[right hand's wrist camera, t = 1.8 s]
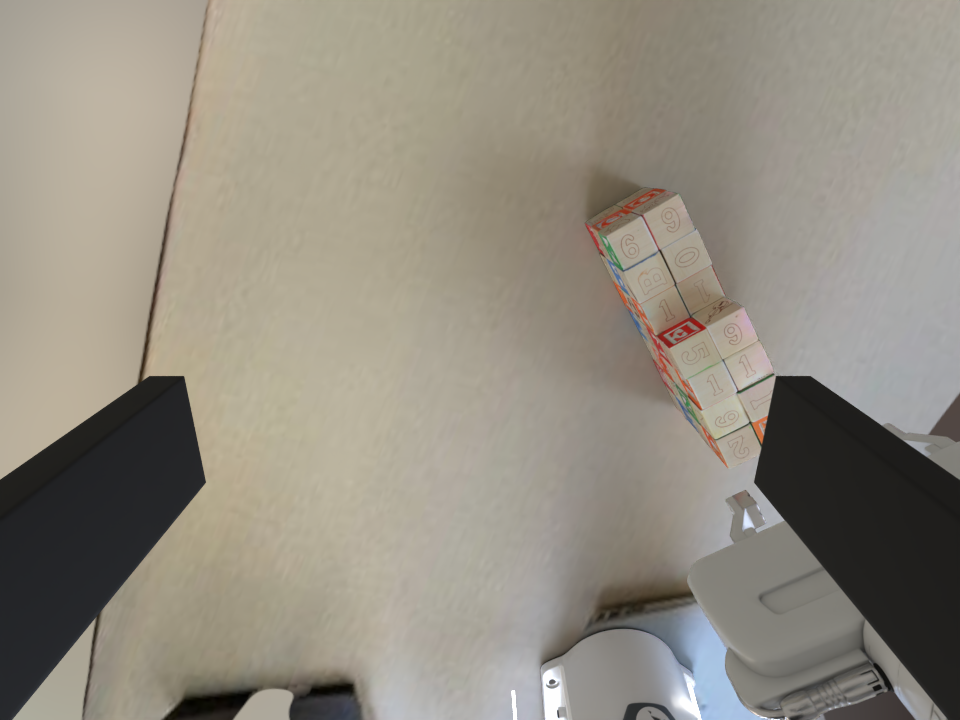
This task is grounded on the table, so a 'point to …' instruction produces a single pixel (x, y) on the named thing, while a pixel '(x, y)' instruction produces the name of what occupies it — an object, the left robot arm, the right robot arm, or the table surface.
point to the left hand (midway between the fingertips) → (806, 469)
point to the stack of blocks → (688, 321)
